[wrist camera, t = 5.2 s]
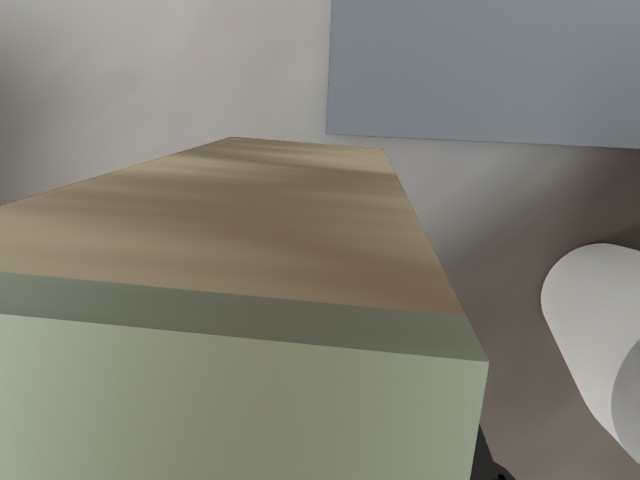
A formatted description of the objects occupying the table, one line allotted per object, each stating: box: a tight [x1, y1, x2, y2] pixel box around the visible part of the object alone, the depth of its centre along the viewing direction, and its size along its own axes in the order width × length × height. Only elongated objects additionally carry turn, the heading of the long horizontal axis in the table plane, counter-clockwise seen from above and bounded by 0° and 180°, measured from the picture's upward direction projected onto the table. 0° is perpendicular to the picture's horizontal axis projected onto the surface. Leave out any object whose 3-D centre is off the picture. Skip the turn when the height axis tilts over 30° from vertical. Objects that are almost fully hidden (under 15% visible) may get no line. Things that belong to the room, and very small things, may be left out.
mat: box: [326, 0, 640, 149], centre depth 30 cm, size 20×14×1 cm
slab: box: [0, 137, 489, 480], centre depth 10 cm, size 4×10×12 cm, turn 175°
